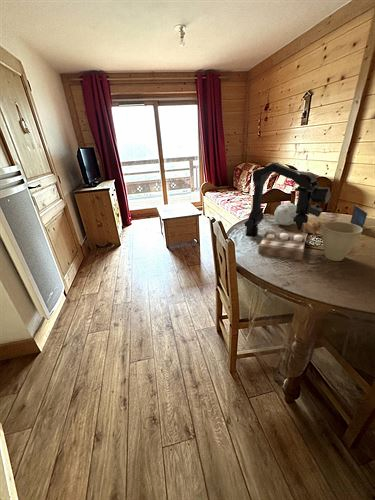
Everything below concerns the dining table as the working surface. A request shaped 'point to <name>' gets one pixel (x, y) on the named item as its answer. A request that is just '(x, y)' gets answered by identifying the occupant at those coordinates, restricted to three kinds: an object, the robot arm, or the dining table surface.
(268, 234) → the button left
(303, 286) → the dining table surface
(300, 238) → the button right
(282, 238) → the button middle
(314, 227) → the lion figurine
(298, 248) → the button board
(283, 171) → the robot arm
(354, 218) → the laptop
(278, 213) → the puzzle ball
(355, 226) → the plant pot
